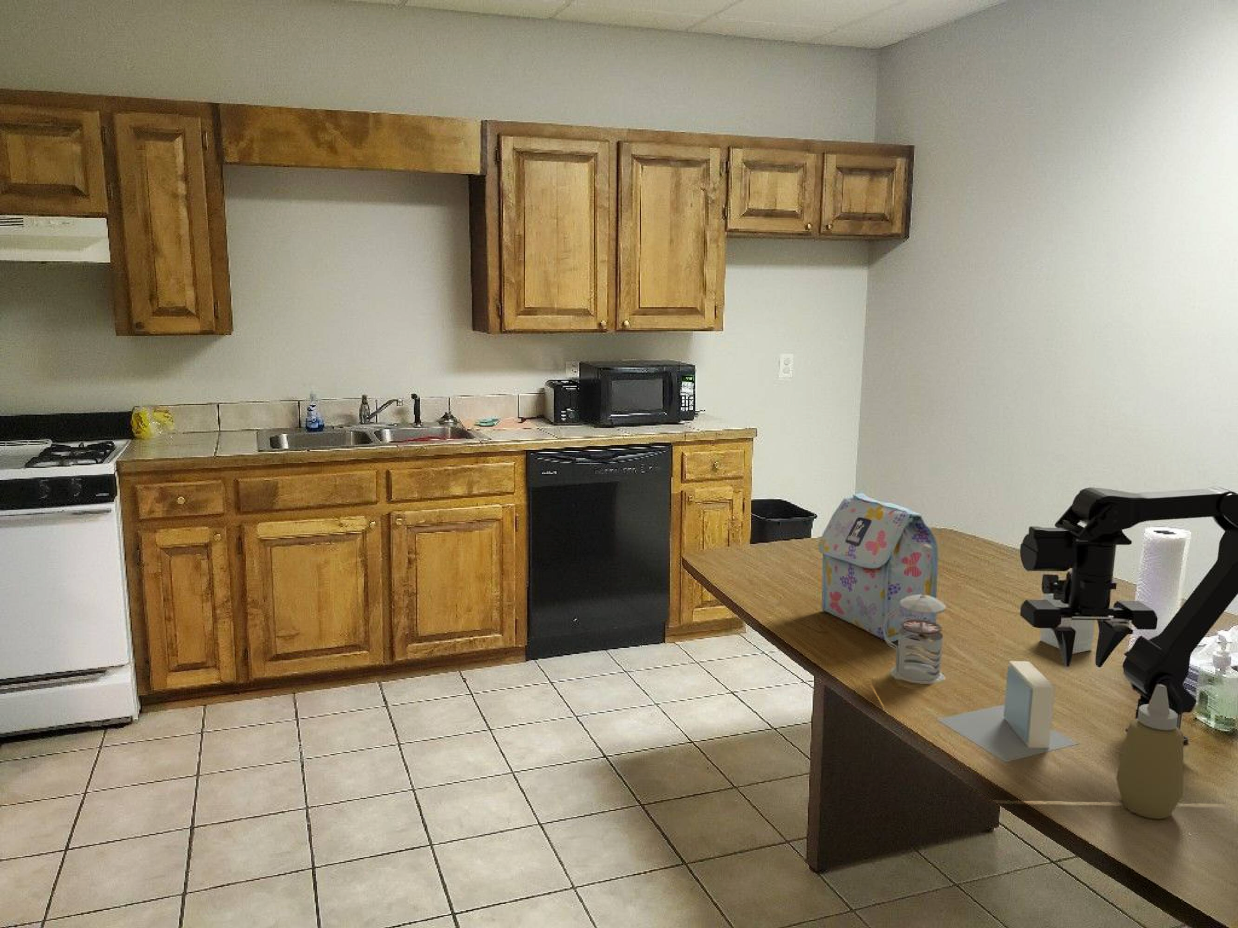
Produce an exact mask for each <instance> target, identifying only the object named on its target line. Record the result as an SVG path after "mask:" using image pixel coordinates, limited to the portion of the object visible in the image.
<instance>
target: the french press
mask: <svg viewBox="0 0 1238 928" xmlns="http://www.w3.org/2000/svg"><path fill="white" fill-rule="evenodd" d="M921 551H923V552H926V556H925V570H924V584H923V595H920V594H919V595H913V596H908V597H906V598H904V599H902V600H901V601H900V605H901V606H902V607H903V608H904V609H906V610H909V611H912V612H916V613H921V619H913V618H912V619H906V620H905V621H902V622H901V626H902V627H903V628H901V629H900V630H899V640H897V643H898V644H894V643H893V642H890V641H889V640H888V639H887V638H886V635H885V625H886V623H887V621H888V619H889V618H890V617H891V616H892V615H894V614H896V613H899V618H900V619H901V610H900V609H895V610H892V611H891V612H889V613H888V614H887V615H886V617H885V619H884V621H883V634H884V638H885V640H884V641H885V643H886V644H887V645H888V646H889V647H891V648H893V649H894V650H895V651H896V652H895V653H896V655H895V665H894V667H893V668H891V669H890V675H891V677H892V678H893V677H894V678H893V679H895V680H902V681H906V682H909V683H915V684H921V685H922V684H924V685H929V684H936V683H940V682H941V681H945V680H947V679H946V678H947V677H946V676H945V675H944V674H943V673H942V671H941V667H942V666H941V665H942V653H943V652H942V651H943V641H944V640H943V638H944V636H943V635H944V634H943V633H942V632H941V631H942V629H943V627H942V625H940V623H937V622H936V623H935V622H934V621H933V622H932V621H929V620H922V616H923V614H941V613H943V612H945V611H946V610H947V609H946V608H947V605H946V604H944V602H943V601H941V600H940V599H938V598H937V599H936V598H934V597H931V596H928V595H924V587H925V572H926V558H927V552H932V547H931V546H930V545H923V546H922V548H921ZM896 610H899V612H895V613H893V614H891V615H890V616H889V617H888V615H889V614H890V613H892V612H893V611H896ZM887 617H888V618H887ZM886 618H887V620H886ZM885 621H886V622H885ZM884 623H885V624H884ZM907 632H912V633H916V634H919V635H913V634H911V635H908V636H905V637H904V636H903V635H904V634H906V633H907ZM920 635H923V636H924V637H925V638H927V639H929V641H928V640H926V639H925V638H923V637H922V636H920ZM887 641H888V642H887ZM908 646H909V647H908ZM913 646H915V647H913ZM906 647H907V648H906ZM917 647H919V648H921V649H923V650H924V651H923V650H921V649H919V648H917ZM925 651H926V652H925ZM929 653H930V654H929ZM920 655H921V656H920ZM922 656H924V657H925V658H924V657H922Z"/></svg>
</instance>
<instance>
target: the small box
mask: <svg viewBox="0 0 1238 928" xmlns="http://www.w3.org/2000/svg"><path fill="white" fill-rule="evenodd" d="M1043 600H1048V601H1049V602H1051V603H1052V604H1053V605H1055V606H1056V607H1068V604H1063V603H1062V602H1061V600H1053V594H1044V593H1043ZM1076 614H1077V613H1076ZM1071 627H1072V628H1073V629H1074V630H1075V631H1076V635H1075V641H1074V647H1073V654H1072V655H1074V654H1078V653H1079V654H1080V653H1083V652H1084V653H1085V652H1087V651H1091V650H1093V642H1094V641H1093V640H1094V631H1095V630H1094V629H1095V620H1071ZM1039 640H1040V641H1041V642H1043V643H1045V644H1048V645H1049V646H1051V647H1054V648H1056V649H1059V645H1058V642H1057V639H1056V636H1055V634H1054V631H1053V630H1052V629H1051V628H1040V639H1039Z"/></svg>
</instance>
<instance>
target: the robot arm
mask: <svg viewBox="0 0 1238 928" xmlns="http://www.w3.org/2000/svg"><path fill="white" fill-rule="evenodd" d="M1197 518H1198V519H1199V518H1212V519H1213V520H1214V522H1215V523H1216V525H1217V526H1218V527H1219V528H1221V529H1222V530H1223V532H1224V533H1223V534H1222V536H1221V538H1220V540H1219V543H1218V551H1217V559H1216V561H1215V563H1214V564H1213V565H1212V567H1210V569H1209V571H1208V572H1207V573H1206V575H1205V576H1204V577H1203V578H1202V580H1201V581H1200V582H1199V583H1198V585H1197V586H1196V587H1195V588H1194V590H1193V591H1192V593H1191V594H1190V595H1189V596H1188V598H1187V599H1186V600H1185V602H1184V603H1183V605H1181V607H1180V608H1179V609H1178V610H1177V612H1176V613H1175V614H1174V616H1173V617H1172V618H1171V620H1170V621H1169V622H1168V624H1167V625H1166V626H1165V627H1164V628H1163V630H1162V631H1161V632H1160V633H1159V634H1158V635H1156V636H1153V637H1151V638H1149V639H1148V638H1146V637H1144V636H1143V635H1140V636H1138V637H1137V638H1136V639H1135V642H1134V643H1133V645H1132V647H1131V648H1129V650H1128V651H1126V652H1125V653H1123V655H1124V657H1125V659H1124V660H1123V662H1122V665H1121V666H1122V670H1123V675H1124V677H1125V678H1126V680H1128V681H1129V682H1130V686H1131V689H1132V690H1133V691H1134V692H1135V691H1136V693H1138V694H1139V695H1140V697H1139V698H1138V699H1137V706H1136V710H1135V716H1134V719H1137V718H1138V711H1139V707H1140V706H1142V705H1145V704H1149V702H1150V700H1151V697H1152V695H1153V692H1154V690H1155V687H1156V685H1157V684H1161V685H1164V686H1166V688H1167V696H1168V703H1169V709H1171V710H1173V711H1175V712H1176V713H1177V714H1178V719H1177V728H1179V729H1180V730H1181V727H1182V716H1183V714H1184V713H1186V714H1187V713H1192V711H1193V709H1194V707H1195V705H1196V703H1197V699H1196V698H1195V697H1194V696H1193V695H1192V694H1191V693H1190V692H1189V691H1188V690H1187V688H1185V687H1184V683H1185V681H1186V680H1187V677H1188V676H1189V672H1190V670H1189V669H1190V664H1191V663H1190V662H1191V657H1192V653H1193V652H1194V651H1195V649H1196V648H1197V646H1198V645H1199V644H1200V643H1201V642H1202V640H1203V639H1204V638H1205V636H1206V635H1207V634H1208V633H1209V631H1210V630H1211V629H1212V628H1213V626H1214V625H1215V624H1216V622H1217V621H1218V620H1219V619H1220V617H1221V616H1222V615H1223V614H1224V613H1225V611H1226V610H1227V609H1228V607H1230V604H1231V603H1232V602H1233V601H1234V599H1235V598H1236V597H1237V596H1238V493H1237V492H1235V491H1232V490H1229V489H1226V488H1224V487H1220V486H1211V487H1207V488H1198V489H1196V488H1195V489H1194V488H1193V489H1180V490H1165V491H1164V490H1163V491H1152V492H1151V491H1149V492H1148V491H1147V492H1128V491H1123V490H1118V489H1111V488H1102V487H1093V486H1092V487H1085V488H1083V489H1080V490H1079V492H1078V493H1077V494H1076V495H1075V497H1074V499H1073V500H1072V504H1071V505H1070V506H1069V507H1068V508H1067V509H1066V511H1064V513H1063V514H1062V516H1060V518H1059V519H1058V520H1057V521H1056V522H1055V523H1054V527H1042V526H1038V525H1037V526H1029V527H1028V533H1027V534H1025V536H1024V537H1023V540H1022V542H1021V543H1020V546H1019V547H1020V548H1019V553H1020V554H1019V555H1020V561H1021V564H1022V566H1023V568H1024V569H1025V570H1026V571H1027V572H1067V573H1066V575H1065V579H1060V577H1059V575H1058V574H1057V573H1050V574H1049V573H1047V574H1046V573H1045V574H1044V573H1043V574H1042V578H1041V592H1042V594H1043V595H1044V594H1053V600H1061V602H1062V603H1063V604H1068V607H1056V606H1055V605H1053V604H1052V603H1051V602H1049V601H1048V600H1044V599H1025V600H1024V601H1023V602H1022V604H1020V611H1019V616H1020V617H1021V618H1022V619H1024V620H1025V621H1026V622H1027V623H1029V625H1031V627H1032V628H1036V629H1041V628H1051V629H1052V630H1053V631H1054V634H1055V636H1056V639H1057V642H1058V645H1059V648H1058V649H1059V651H1060V656H1061V659H1062V661H1063V664H1064V666H1065V667H1067V668H1070V665H1071V663H1072V659H1073V655H1074V654H1073V647H1074V641H1075V635H1076V631H1075V630H1074V629H1073V628H1072V627H1071V620H1094V621H1097V625H1098V637H1097V642H1096V643H1097V644H1096V651H1095V659H1094V660H1095V666H1096V667H1097V668H1102V667H1103V665H1104V664H1105V662H1107V659H1108V658H1109V657H1110V655H1111V654H1113V652H1114V650H1115V649H1116V648H1117V646H1118V645H1120V643H1121V642H1122V641H1123V640H1124V639H1125V638H1127V636H1128V635H1133V634H1134V630H1133V628H1131V627H1129V625H1130V621H1131V624H1132V625H1133V627H1134V628H1135V629H1137V630H1150V631H1151V630H1152V631H1153V630H1154V631H1155V630H1156V629H1157V625H1158V619H1159V617H1158V615H1157V613H1156V611H1155V610H1154V609H1152V608H1150V607H1149V606H1147V605H1146V604H1144V603H1142V601H1139V600H1116V601H1115V602H1114V603H1113V606H1111V597H1112V590H1117V586H1118V584H1117V582H1116V581H1114V580H1113V579H1114V569H1115V560H1116V552H1117V551H1116V550H1117V546H1130V545H1132V543H1133V541H1132V540H1131V539H1130V538H1129V537H1127V535H1126V534H1125V533H1124V532H1123V530H1126V529H1130V528H1133V527H1135V526H1136V525H1138V524H1141V523H1144V522H1152V521H1153V522H1154V521H1168V520H1182V519H1183V520H1184V519H1197ZM1080 523H1082V524H1084V525H1085V526H1082V525H1081V524H1080ZM1070 569H1071V570H1070ZM1069 570H1070V571H1069ZM1076 613H1077V614H1076ZM1128 727H1129V726H1128ZM1128 727H1126V728H1125V731H1126V732H1127V731H1128ZM1188 742H1189V738H1188V737H1187V736H1185V735H1183V744H1185V743H1188Z"/></svg>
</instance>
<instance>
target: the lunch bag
mask: <svg viewBox="0 0 1238 928" xmlns="http://www.w3.org/2000/svg"><path fill="white" fill-rule="evenodd" d="M923 545H930V546H931V547H932V552H927V558H926V572H925V587H924V595H928V596H931V597H934V598H936V599H938V596H937V595H938V573H939V543H938V540H937V538H936V536H935V535H934V533H933V531H932V529H931V528H930V527H929V526H928V525H927V523H926V522H925V520H924V519H923V516H922V514H920V513H918V512H916V511H913V510H910V509H909V508H907V507H903V506H901V505H897V504H895V503H892V502H882V501H879V500H876V499H874V498H871V497H868V496H867V495H866V494H865V493H863V492H860V493H856V494H853V495H852V496H849V497H844V498H843V499H842V501H840V504H839V505H838V507H837V508H836V509H835V511H834V513H832V515H831V517H830V519H829V522H828V524H827V525H826V528H825V529H824V531H823V532H822V535H821V536H820V538H819V541H818V545H817V546H818V550H819V551H818V552H819V553H821V554H822V582H821V583H822V585H821V610H822V612H827V613H828V614H830V615H833V616H835V617H836V618H839V619H841V620H842V621H846V622H848V623H849V624H852V625H854V626H855V627H858V628H860V629H862V630H864V631H866V632H868V633H870V634H871V635H874V636H875V637H877V638H880V639H882V640H884V641H885V638H884V634H883V621H884V619H885V617H886V615H887V614H888V613H889V612H891V611H892V610H895V609H900V610H901V619H900V618H899V613H896V614H894V615H892V616H891V617H890V618H889V619H888V621H887V623H886V625H885V635H886V638H887V639H888V640H889V641H890V642H891V643H893V642H896V641H898V640H899V630H900V629H901V628H903V627H902V626H901V622H902V621H905V620H906V619H912V618H913V619H921V613H916V612H912V611H909V610H906V609H904V608H903V607H902V606H901V605H900V601H901V600H902V599H904V598H906V597H908V596H913V595H919V594H920V595H923V584H924V570H925V556H926V552H923V551H921V548H922V546H923ZM895 612H899V610H896V611H893V612H892V613H890V614H889V615H888V617H889V616H890V615H891V614H893V613H895ZM937 614H938V613H937ZM937 614H923V616H922V620H929V621H932V622H933V621H934V622H935V623H937V616H938V615H937ZM888 617H887V618H888ZM887 618H886V620H887ZM885 622H886V621H885ZM884 624H885V623H884ZM911 634H913V635H918V636H920V634H916V633H912V632H907V633H906V634H904V635H903V636H904V637H905V636H908V635H911ZM887 642H888V641H887ZM888 643H889V642H888Z"/></svg>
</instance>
